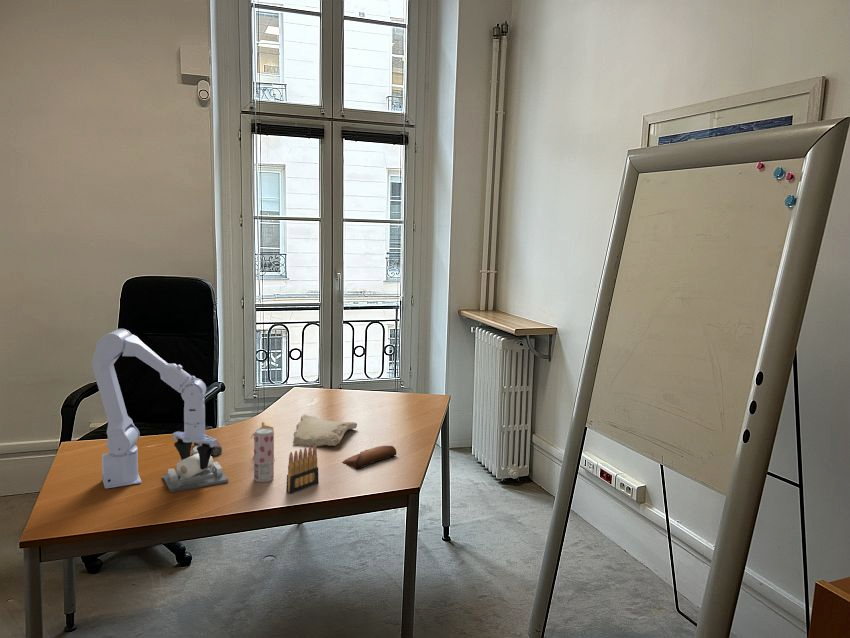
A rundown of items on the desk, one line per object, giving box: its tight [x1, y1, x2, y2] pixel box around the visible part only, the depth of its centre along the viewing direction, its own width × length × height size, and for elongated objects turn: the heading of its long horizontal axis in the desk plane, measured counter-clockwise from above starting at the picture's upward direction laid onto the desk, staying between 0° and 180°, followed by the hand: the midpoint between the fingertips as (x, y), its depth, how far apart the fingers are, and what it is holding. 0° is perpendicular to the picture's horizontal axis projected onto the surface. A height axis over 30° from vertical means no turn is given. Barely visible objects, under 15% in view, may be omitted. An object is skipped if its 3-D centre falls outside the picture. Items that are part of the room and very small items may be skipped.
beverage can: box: [253, 427, 275, 483], centre depth 188 cm, size 6×6×15 cm
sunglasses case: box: [341, 445, 397, 470], centre depth 208 cm, size 18×7×7 cm
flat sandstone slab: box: [292, 414, 358, 448], centre depth 229 cm, size 24×8×20 cm
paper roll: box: [175, 453, 214, 479], centre depth 185 cm, size 9×6×6 cm, turn 158°
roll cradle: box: [162, 461, 229, 493], centre depth 186 cm, size 16×12×4 cm
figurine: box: [250, 421, 275, 439], centre depth 206 cm, size 8×6×12 cm
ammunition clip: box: [285, 445, 320, 494], centre depth 183 cm, size 11×2×12 cm, turn 141°
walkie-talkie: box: [192, 436, 223, 456], centre depth 207 cm, size 9×4×20 cm
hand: (195, 466), depth 185 cm, fingers open, 6 cm apart
